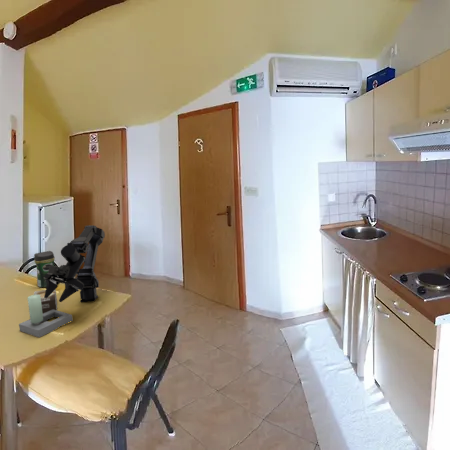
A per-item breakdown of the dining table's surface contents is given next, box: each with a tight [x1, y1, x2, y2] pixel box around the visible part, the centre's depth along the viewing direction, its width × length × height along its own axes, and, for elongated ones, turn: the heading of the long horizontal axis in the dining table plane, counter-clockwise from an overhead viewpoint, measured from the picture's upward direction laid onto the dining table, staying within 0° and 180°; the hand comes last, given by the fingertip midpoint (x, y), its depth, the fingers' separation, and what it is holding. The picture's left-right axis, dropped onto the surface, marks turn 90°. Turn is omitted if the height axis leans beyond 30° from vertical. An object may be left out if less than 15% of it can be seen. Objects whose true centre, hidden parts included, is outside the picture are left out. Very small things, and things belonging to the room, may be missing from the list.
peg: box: [27, 294, 43, 325], centre depth 134 cm, size 5×5×14 cm
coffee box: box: [33, 288, 58, 313], centre depth 154 cm, size 9×6×16 cm
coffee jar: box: [33, 250, 55, 288], centre depth 183 cm, size 10×8×19 cm
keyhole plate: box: [18, 309, 74, 338], centre depth 138 cm, size 15×12×3 cm
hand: (52, 299), depth 140 cm, fingers open, 9 cm apart
